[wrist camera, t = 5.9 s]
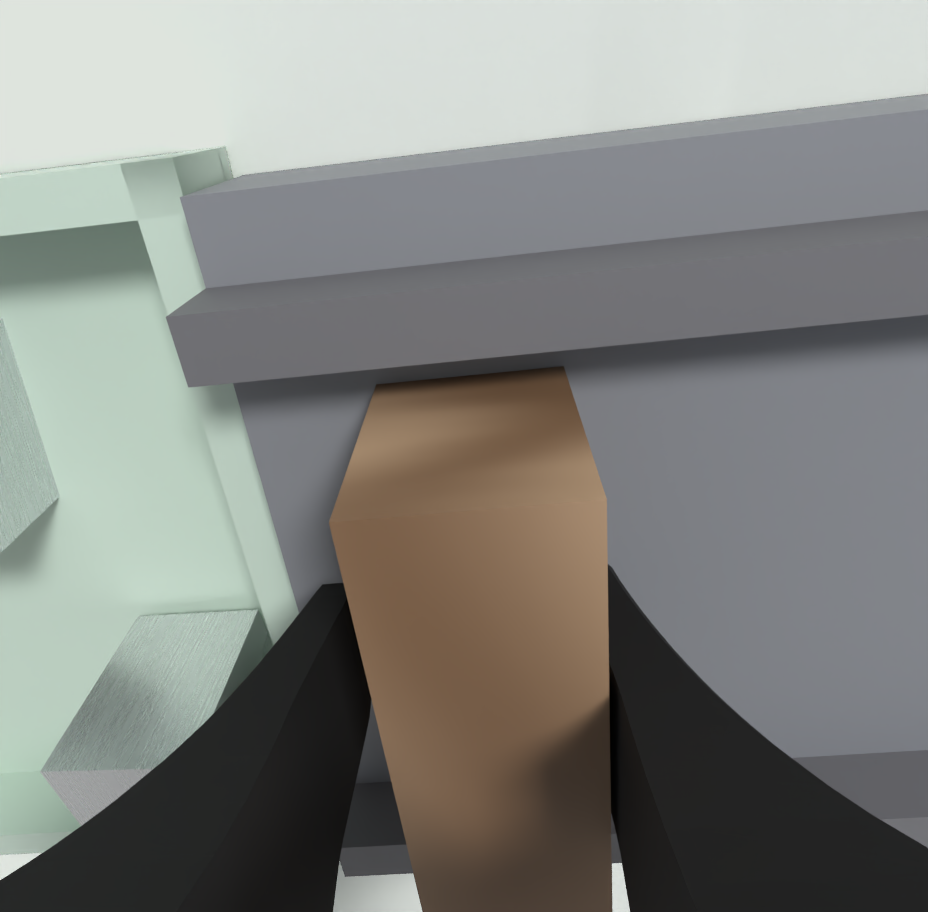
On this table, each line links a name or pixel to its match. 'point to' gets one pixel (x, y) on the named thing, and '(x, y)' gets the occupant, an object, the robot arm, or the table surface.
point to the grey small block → (19, 453)
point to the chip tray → (114, 455)
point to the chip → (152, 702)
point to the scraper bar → (486, 635)
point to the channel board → (633, 390)
